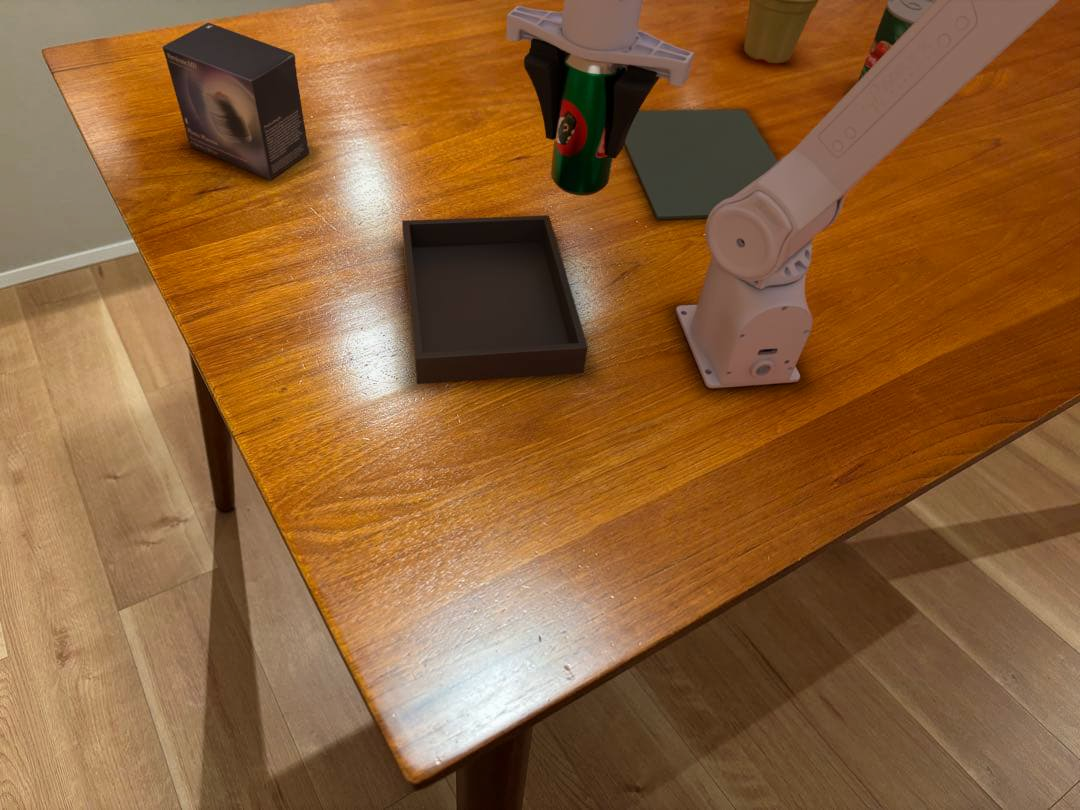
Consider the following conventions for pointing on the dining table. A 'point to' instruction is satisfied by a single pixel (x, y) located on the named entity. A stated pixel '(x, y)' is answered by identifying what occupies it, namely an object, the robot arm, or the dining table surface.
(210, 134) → the small box
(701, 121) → the mat
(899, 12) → the canned tomato
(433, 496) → the dining table surface
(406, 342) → the dining table surface
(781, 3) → the plant pot
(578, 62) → the soda can
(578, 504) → the dining table surface
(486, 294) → the tray
